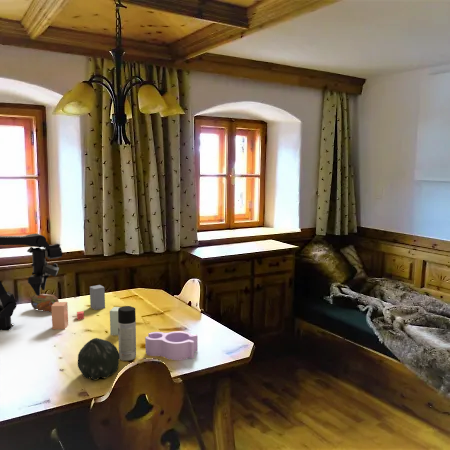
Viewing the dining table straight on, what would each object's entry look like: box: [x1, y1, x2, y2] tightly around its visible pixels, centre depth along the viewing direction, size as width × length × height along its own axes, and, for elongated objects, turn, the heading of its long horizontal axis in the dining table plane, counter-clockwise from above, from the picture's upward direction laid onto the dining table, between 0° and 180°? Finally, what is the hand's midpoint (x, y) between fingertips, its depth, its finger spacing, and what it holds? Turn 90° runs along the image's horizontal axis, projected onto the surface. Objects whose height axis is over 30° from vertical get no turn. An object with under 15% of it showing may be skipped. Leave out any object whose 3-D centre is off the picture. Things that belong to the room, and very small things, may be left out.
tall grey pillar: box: [89, 284, 106, 311], centre depth 240 cm, size 6×6×11 cm
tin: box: [30, 293, 60, 313], centre depth 235 cm, size 15×3×8 cm, turn 73°
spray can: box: [117, 305, 137, 362], centre depth 181 cm, size 7×7×20 cm
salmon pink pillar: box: [51, 301, 69, 330], centre depth 213 cm, size 6×6×11 cm
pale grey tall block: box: [109, 306, 121, 336], centre depth 206 cm, size 6×6×11 cm
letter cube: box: [76, 310, 85, 320], centre depth 225 cm, size 3×3×3 cm
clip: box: [144, 330, 199, 361], centre depth 186 cm, size 20×12×7 cm, turn 81°
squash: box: [77, 337, 120, 381], centre depth 167 cm, size 14×15×15 cm
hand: (40, 292), depth 222 cm, fingers open, 9 cm apart
